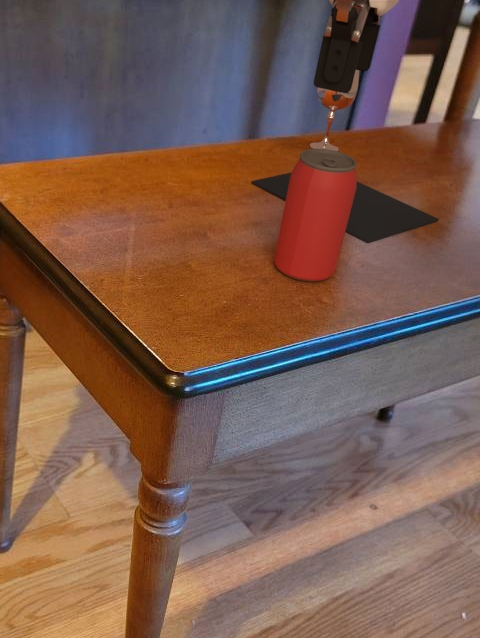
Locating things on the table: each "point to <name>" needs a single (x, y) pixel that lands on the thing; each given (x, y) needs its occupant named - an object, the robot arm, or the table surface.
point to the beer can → (316, 214)
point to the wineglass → (334, 108)
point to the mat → (365, 210)
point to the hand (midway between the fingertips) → (342, 78)
